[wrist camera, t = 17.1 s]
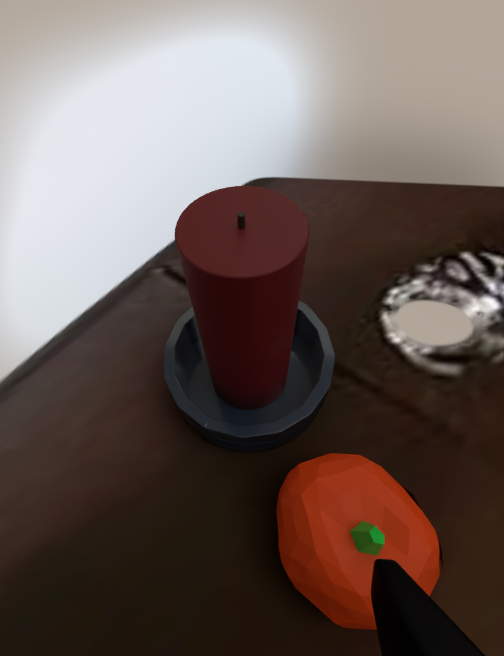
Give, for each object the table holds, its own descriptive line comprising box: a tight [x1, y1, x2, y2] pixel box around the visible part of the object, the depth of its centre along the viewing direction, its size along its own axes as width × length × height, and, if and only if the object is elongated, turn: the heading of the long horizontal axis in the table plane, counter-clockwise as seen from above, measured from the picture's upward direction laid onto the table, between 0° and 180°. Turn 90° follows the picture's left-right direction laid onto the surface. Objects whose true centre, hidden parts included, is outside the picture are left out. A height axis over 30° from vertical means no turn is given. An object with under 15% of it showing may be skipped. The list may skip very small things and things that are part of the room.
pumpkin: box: [276, 453, 443, 630], centre depth 17 cm, size 7×8×6 cm
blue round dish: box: [164, 301, 335, 452], centre depth 24 cm, size 11×11×4 cm
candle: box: [175, 186, 309, 409], centre depth 19 cm, size 5×5×14 cm
